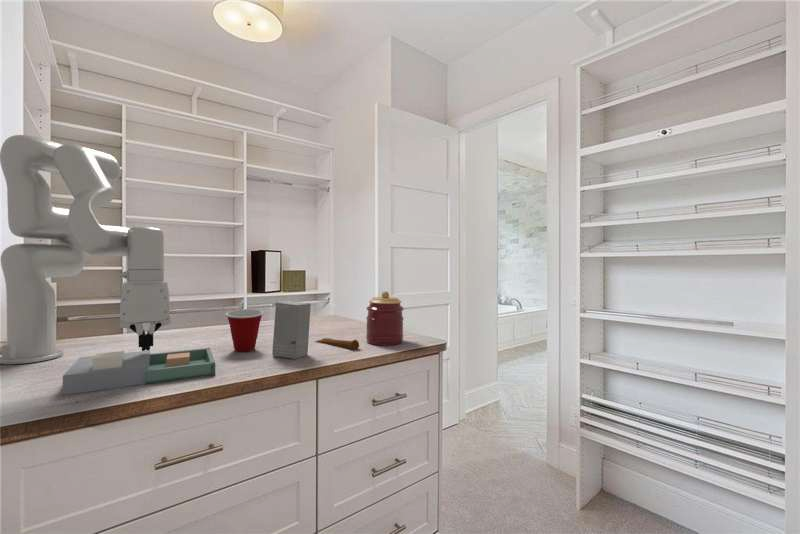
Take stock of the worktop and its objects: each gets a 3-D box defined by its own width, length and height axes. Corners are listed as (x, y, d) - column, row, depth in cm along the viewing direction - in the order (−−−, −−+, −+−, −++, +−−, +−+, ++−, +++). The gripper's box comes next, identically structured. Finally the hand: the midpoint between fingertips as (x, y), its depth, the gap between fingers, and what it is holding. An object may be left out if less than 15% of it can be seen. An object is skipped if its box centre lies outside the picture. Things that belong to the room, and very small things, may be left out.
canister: (410, 341, 129) (411, 291, 129) (385, 348, 119) (386, 293, 119) (384, 336, 138) (384, 289, 137) (358, 341, 128) (358, 291, 128)
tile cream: (92, 370, 79) (92, 358, 79) (96, 364, 83) (96, 353, 83) (121, 367, 82) (121, 355, 82) (124, 361, 86) (124, 351, 86)
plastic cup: (223, 355, 107) (223, 314, 107) (227, 347, 117) (227, 309, 117) (262, 353, 111) (263, 313, 110) (263, 345, 121) (264, 308, 121)
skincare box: (271, 356, 107) (272, 302, 107) (288, 351, 114) (288, 299, 113) (295, 360, 104) (296, 304, 104) (310, 354, 110) (311, 301, 110)
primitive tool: (313, 342, 127) (313, 332, 127) (326, 340, 131) (326, 330, 131) (351, 352, 115) (352, 341, 115) (364, 349, 119) (364, 338, 119)
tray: (145, 384, 82) (145, 371, 82) (150, 365, 97) (150, 353, 97) (215, 374, 90) (215, 362, 90) (209, 358, 104) (209, 347, 104)
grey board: (62, 394, 76) (62, 375, 75) (80, 373, 89) (80, 357, 89) (145, 383, 83) (145, 366, 83) (149, 365, 96) (149, 350, 96)
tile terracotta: (189, 356, 95) (189, 366, 95) (189, 352, 99) (189, 361, 99) (166, 359, 92) (166, 369, 92) (167, 354, 97) (167, 363, 97)
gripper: (105, 277, 85) (105, 356, 86) (180, 276, 93) (180, 349, 93) (110, 276, 92) (110, 349, 92) (180, 275, 99) (180, 343, 100)
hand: (146, 349), depth 93 cm, fingers closed
